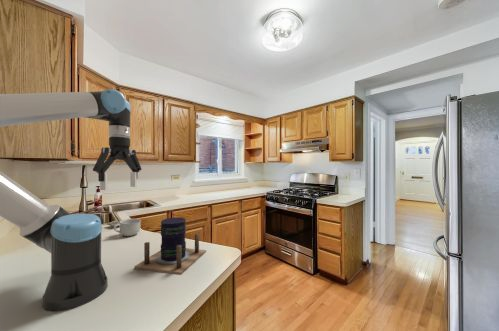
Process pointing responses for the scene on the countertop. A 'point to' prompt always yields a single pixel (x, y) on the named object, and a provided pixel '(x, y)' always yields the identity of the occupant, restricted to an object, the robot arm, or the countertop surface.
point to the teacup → (129, 227)
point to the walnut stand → (174, 266)
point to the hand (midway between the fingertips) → (119, 188)
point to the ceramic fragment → (113, 224)
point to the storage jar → (172, 238)
